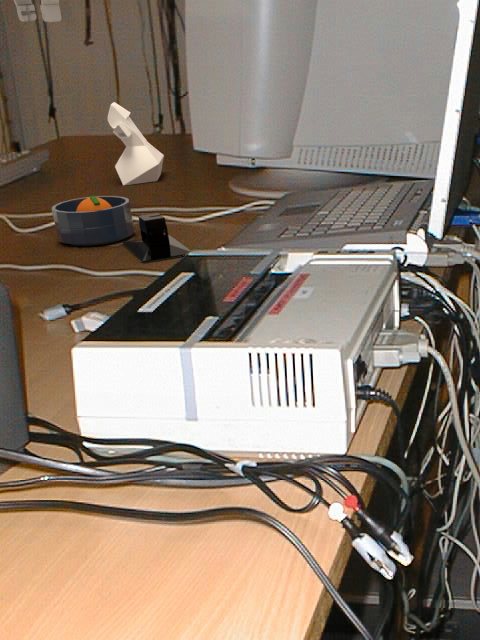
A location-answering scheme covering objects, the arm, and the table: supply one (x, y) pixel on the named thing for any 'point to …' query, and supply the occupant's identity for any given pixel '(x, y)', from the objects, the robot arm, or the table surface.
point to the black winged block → (155, 241)
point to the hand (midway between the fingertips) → (40, 21)
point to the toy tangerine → (93, 204)
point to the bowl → (93, 222)
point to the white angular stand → (134, 150)
